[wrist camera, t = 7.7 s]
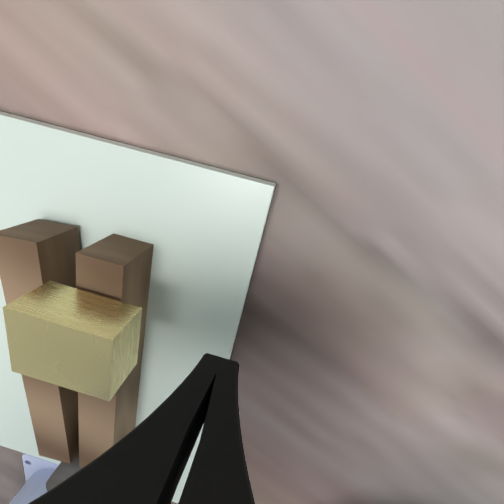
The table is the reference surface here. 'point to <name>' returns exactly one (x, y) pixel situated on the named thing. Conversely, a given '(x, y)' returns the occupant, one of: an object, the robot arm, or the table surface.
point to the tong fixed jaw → (126, 398)
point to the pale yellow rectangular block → (73, 338)
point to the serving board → (143, 229)
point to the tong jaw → (22, 282)
